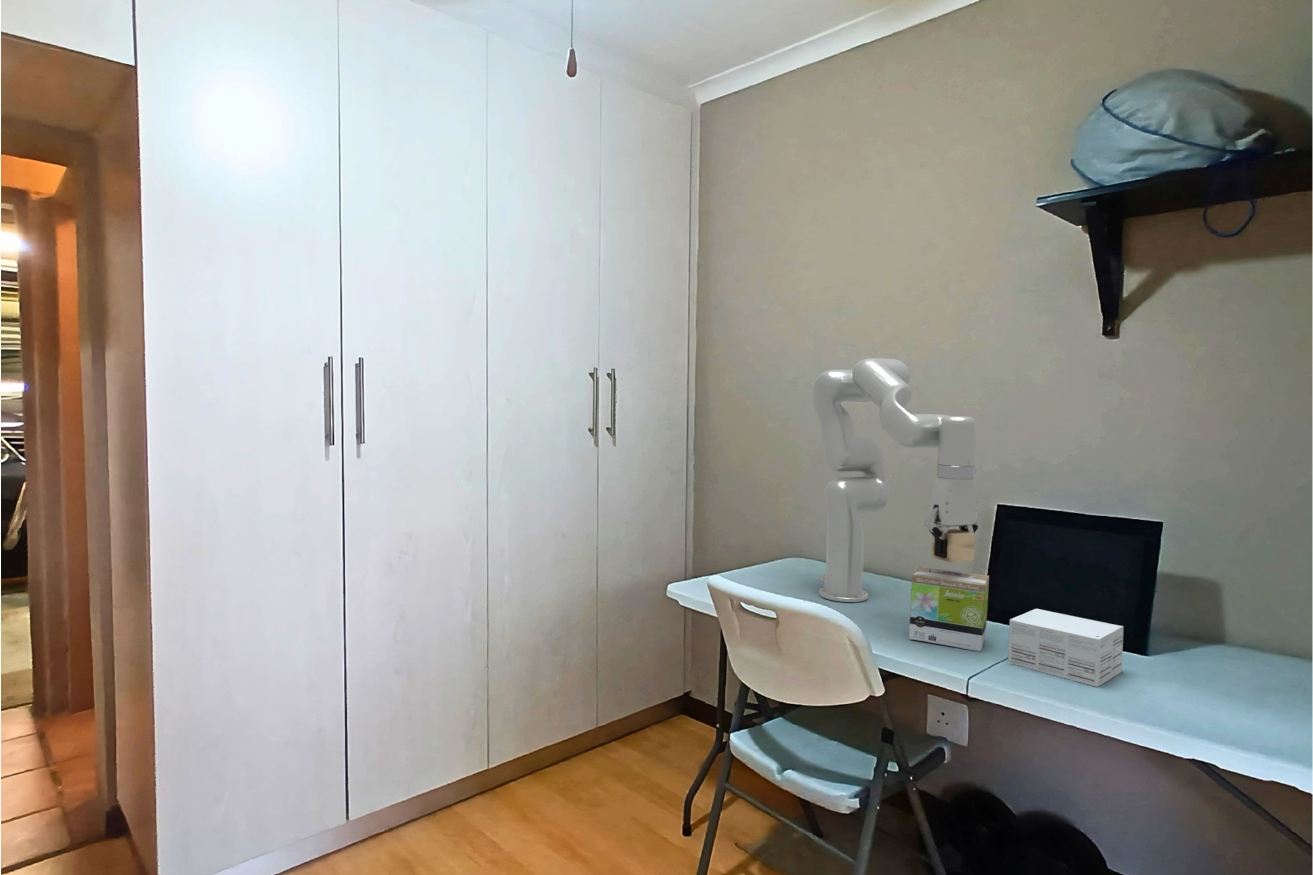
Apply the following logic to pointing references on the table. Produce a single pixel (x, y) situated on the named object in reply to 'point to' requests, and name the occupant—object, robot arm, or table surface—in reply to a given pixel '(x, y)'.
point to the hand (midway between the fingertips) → (952, 555)
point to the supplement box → (1066, 646)
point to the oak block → (958, 546)
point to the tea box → (949, 608)
